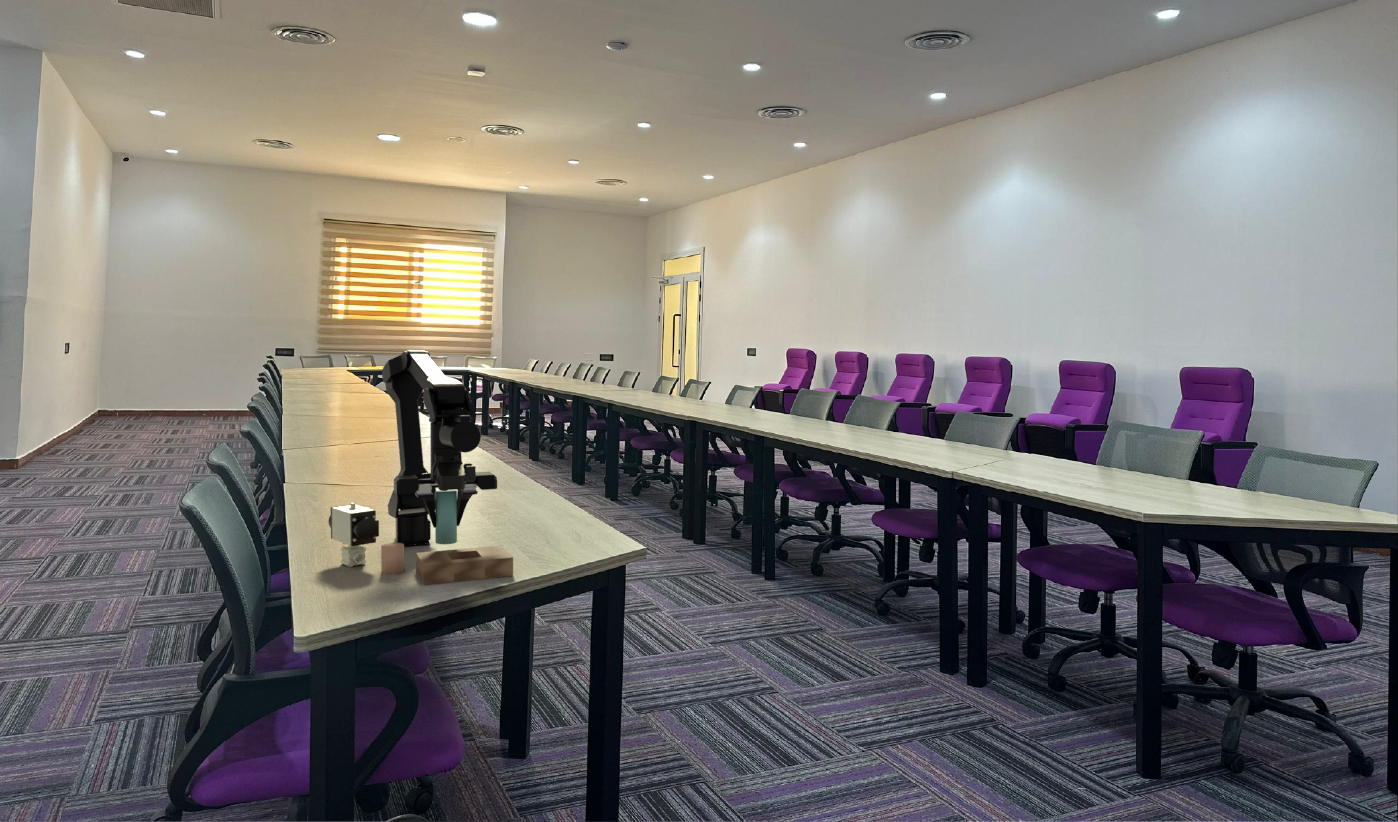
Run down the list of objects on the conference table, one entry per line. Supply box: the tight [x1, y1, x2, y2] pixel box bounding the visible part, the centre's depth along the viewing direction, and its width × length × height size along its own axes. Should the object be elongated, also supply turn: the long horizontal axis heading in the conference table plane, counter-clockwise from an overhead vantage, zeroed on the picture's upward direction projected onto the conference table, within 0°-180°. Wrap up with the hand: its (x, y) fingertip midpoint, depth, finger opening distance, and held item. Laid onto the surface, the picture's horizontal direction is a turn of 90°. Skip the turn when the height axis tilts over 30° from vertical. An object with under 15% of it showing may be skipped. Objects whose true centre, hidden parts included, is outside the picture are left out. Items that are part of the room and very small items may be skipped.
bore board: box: [415, 545, 514, 586], centre depth 154 cm, size 16×10×4 cm, turn 116°
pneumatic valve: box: [328, 502, 380, 568], centre depth 159 cm, size 6×12×12 cm, turn 48°
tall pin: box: [434, 489, 458, 545], centre depth 160 cm, size 4×4×10 cm
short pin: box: [380, 542, 405, 575], centre depth 155 cm, size 4×4×5 cm
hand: (446, 526), depth 160 cm, fingers closed on tall pin, 4 cm apart
